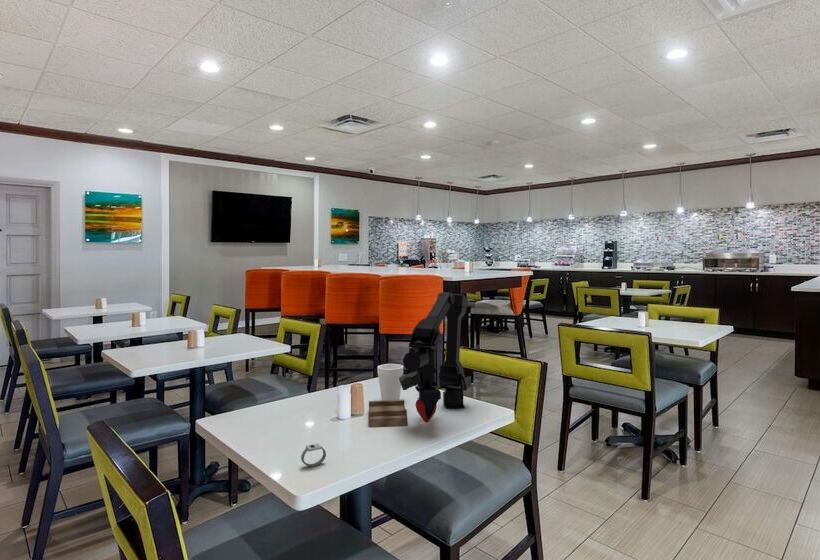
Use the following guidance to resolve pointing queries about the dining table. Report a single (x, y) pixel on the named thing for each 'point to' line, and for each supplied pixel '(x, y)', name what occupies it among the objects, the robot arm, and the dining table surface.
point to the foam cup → (390, 381)
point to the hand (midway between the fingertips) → (426, 414)
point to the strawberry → (423, 410)
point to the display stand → (387, 413)
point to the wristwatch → (312, 448)
